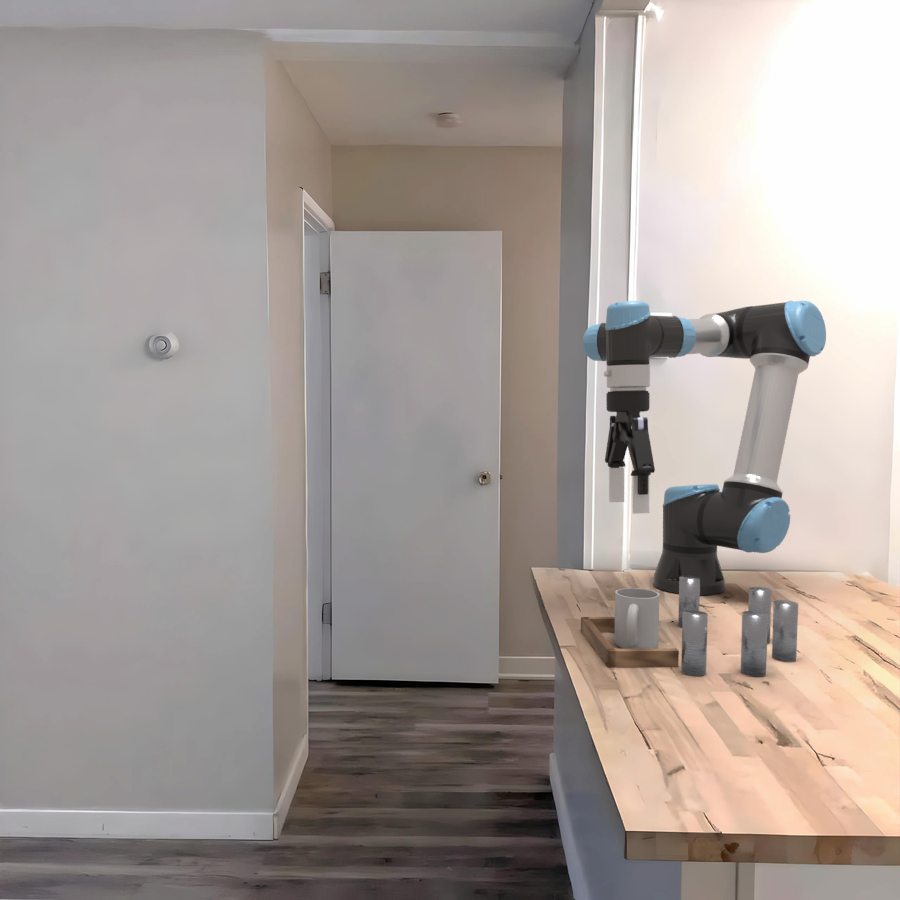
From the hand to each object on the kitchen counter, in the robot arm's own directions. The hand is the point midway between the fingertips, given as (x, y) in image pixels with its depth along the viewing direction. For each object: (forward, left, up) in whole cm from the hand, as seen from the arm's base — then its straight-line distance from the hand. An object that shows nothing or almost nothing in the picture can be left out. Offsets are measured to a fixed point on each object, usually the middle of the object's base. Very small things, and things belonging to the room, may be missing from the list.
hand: (628, 507), depth 136 cm
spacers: (-12, +12, -22) cm, 28 cm away
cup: (+2, +12, -22) cm, 25 cm away
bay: (+3, +12, -22) cm, 25 cm away
